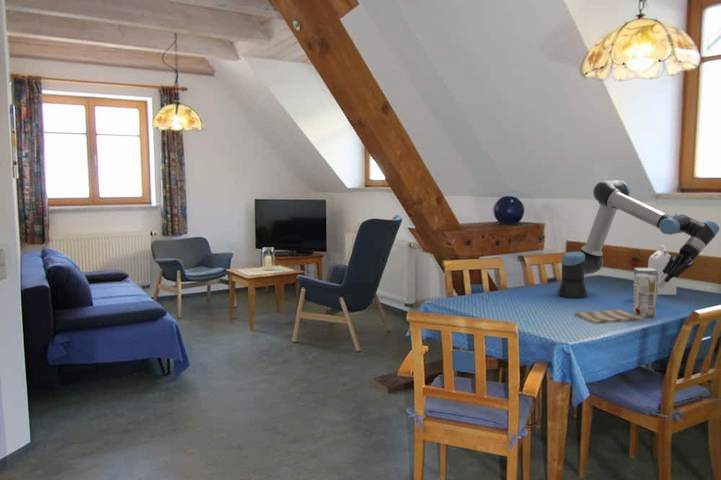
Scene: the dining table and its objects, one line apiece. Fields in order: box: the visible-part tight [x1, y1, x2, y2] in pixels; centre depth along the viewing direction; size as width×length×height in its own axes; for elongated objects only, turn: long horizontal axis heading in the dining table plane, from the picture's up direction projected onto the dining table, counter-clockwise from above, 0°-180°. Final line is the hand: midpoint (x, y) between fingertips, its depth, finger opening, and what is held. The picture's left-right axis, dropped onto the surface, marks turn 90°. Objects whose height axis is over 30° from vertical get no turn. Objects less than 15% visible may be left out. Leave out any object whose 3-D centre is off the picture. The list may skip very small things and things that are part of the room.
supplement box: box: [632, 267, 658, 304], centre depth 286 cm, size 10×9×17 cm
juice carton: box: [632, 273, 656, 318], centre depth 258 cm, size 8×9×19 cm
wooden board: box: [574, 309, 645, 324], centre depth 255 cm, size 24×16×1 cm, turn 100°
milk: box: [647, 244, 677, 296], centre depth 306 cm, size 12×12×26 cm
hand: (659, 286), depth 258 cm, fingers closed
